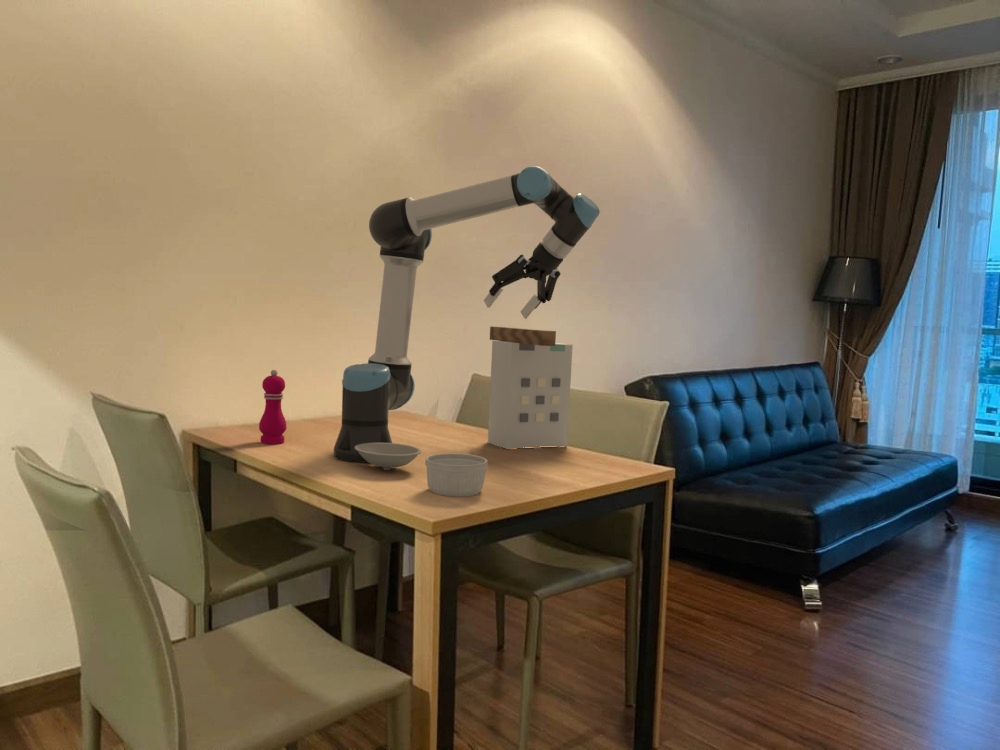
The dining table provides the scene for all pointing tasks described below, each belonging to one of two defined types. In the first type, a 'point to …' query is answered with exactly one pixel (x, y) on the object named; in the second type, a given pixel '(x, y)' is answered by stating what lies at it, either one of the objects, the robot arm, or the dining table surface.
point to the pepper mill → (273, 410)
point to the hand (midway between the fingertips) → (505, 309)
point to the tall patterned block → (529, 395)
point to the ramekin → (455, 474)
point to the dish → (387, 454)
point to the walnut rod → (523, 336)
